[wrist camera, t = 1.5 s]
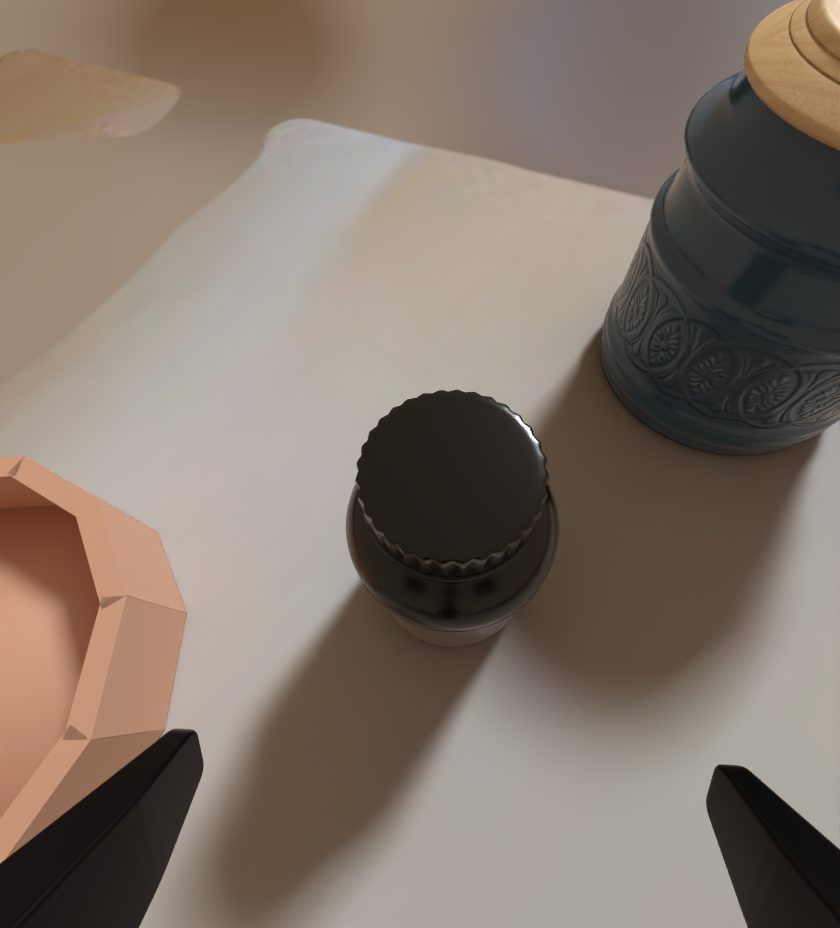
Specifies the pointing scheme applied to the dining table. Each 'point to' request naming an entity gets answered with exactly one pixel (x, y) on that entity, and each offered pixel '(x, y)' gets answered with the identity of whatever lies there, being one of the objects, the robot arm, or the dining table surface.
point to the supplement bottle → (452, 516)
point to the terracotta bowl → (76, 645)
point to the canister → (743, 256)
